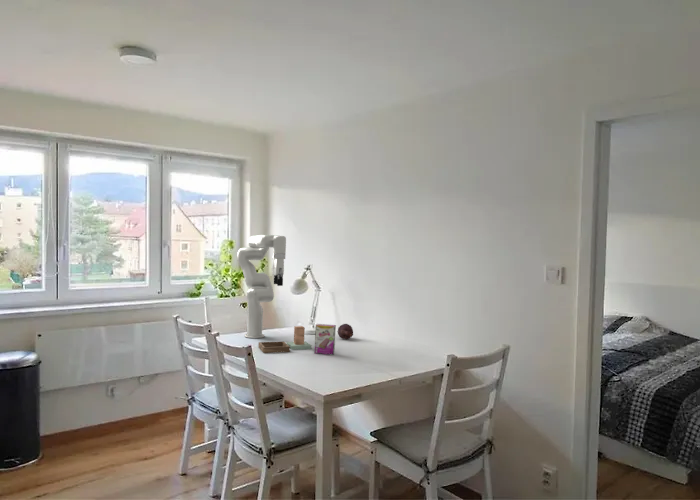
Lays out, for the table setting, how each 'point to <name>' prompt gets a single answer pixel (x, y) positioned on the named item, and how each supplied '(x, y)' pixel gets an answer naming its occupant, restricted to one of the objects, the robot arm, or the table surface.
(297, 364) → the table surface
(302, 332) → the wooden block
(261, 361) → the table surface
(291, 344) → the green board
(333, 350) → the candy bar box
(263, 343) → the brown wooden tray
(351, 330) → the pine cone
